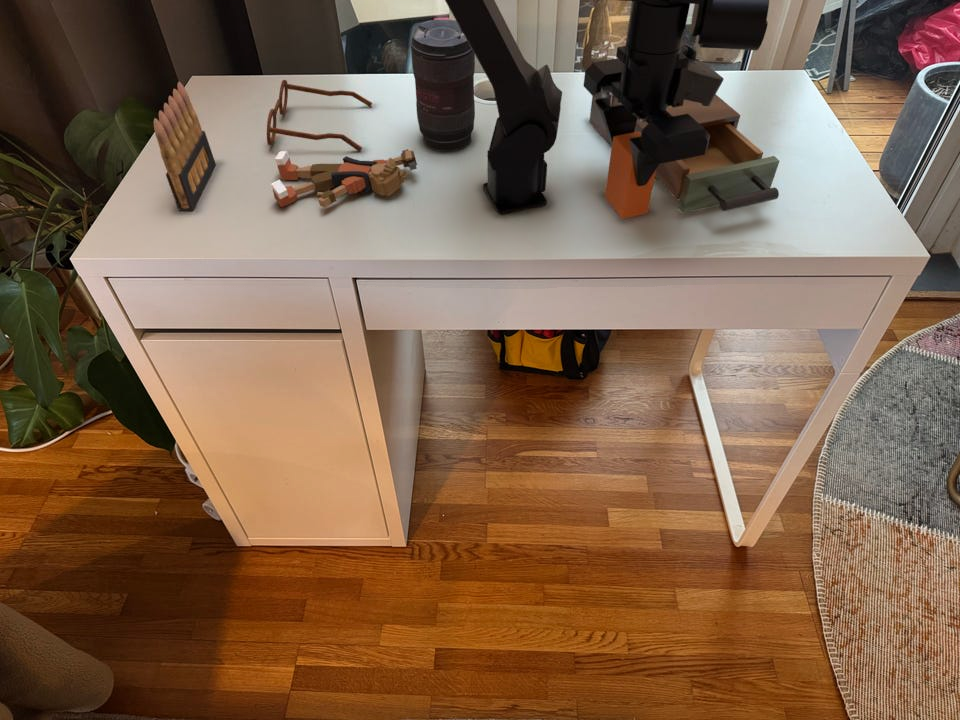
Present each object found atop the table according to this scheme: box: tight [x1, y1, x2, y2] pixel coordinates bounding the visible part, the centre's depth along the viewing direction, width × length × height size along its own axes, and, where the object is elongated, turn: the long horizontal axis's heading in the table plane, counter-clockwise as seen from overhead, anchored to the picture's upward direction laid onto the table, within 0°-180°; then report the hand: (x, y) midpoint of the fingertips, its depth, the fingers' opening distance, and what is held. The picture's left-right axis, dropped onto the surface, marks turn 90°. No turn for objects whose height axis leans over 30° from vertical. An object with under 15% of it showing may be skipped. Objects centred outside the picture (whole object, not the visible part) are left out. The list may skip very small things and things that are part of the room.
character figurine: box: [271, 148, 418, 209], centre depth 90 cm, size 12×5×18 cm
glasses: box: [266, 79, 373, 152], centre depth 100 cm, size 13×13×5 cm
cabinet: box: [589, 88, 741, 148], centre depth 96 cm, size 15×13×6 cm
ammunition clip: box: [153, 81, 217, 212], centre depth 88 cm, size 11×2×12 cm, turn 179°
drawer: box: [655, 122, 780, 214], centre depth 88 cm, size 19×12×5 cm, turn 19°
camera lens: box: [410, 18, 476, 152], centre depth 94 cm, size 8×8×15 cm
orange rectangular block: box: [604, 131, 656, 220], centre depth 85 cm, size 5×4×8 cm
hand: (631, 173), depth 85 cm, fingers closed on orange rectangular block, 5 cm apart
